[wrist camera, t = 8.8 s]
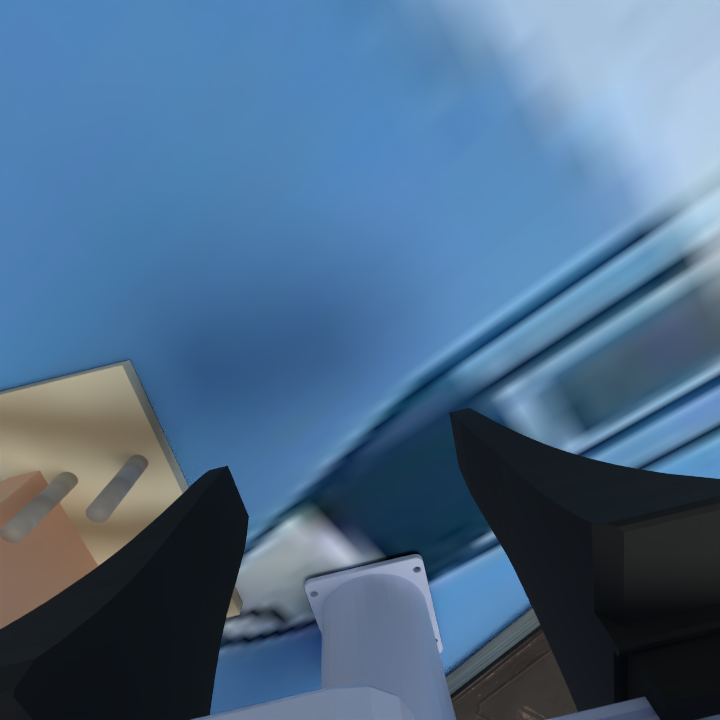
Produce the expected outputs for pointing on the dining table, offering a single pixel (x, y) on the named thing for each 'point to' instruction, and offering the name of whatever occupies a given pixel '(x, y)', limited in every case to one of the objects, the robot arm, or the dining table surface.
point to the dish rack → (91, 457)
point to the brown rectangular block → (37, 552)
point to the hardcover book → (511, 678)
